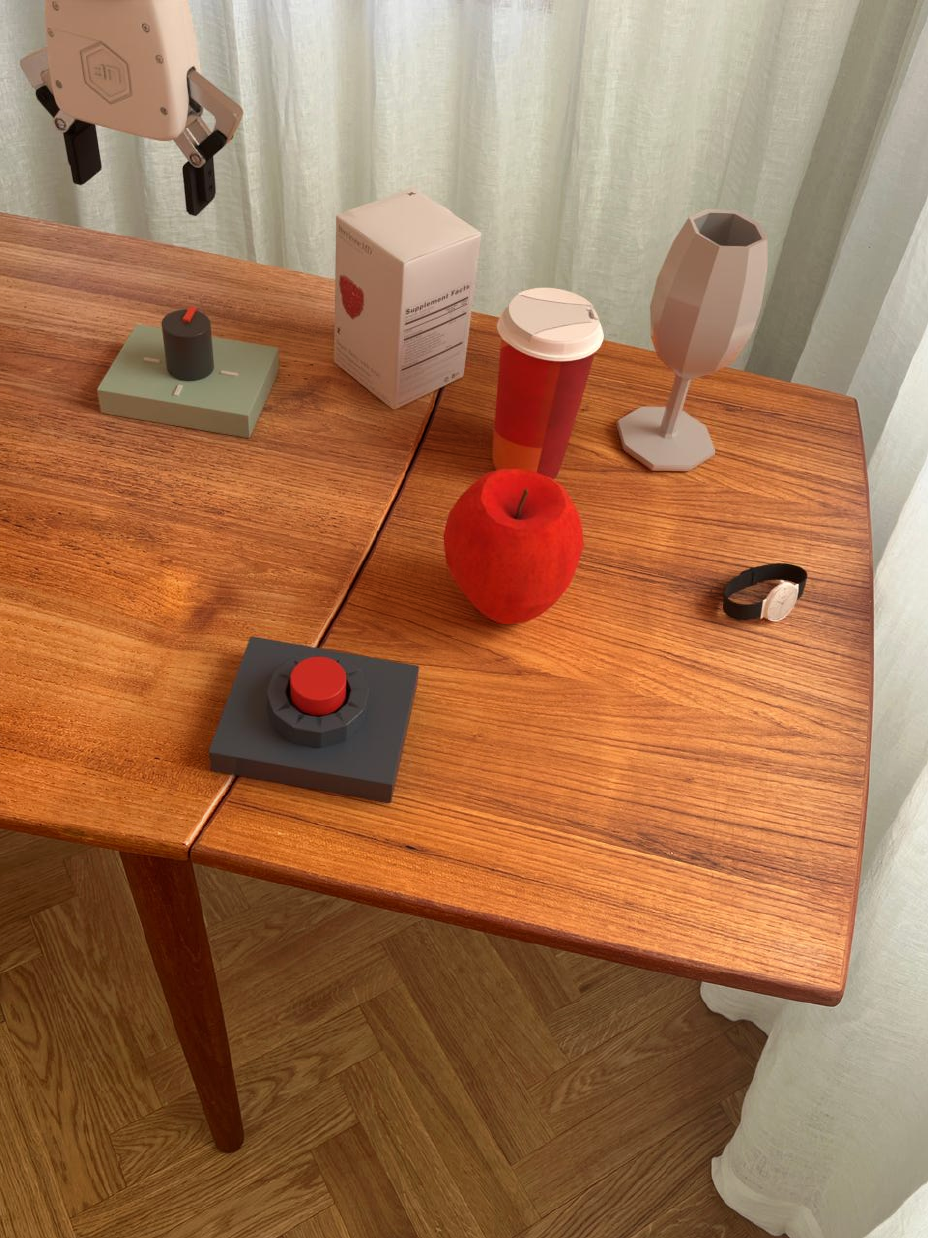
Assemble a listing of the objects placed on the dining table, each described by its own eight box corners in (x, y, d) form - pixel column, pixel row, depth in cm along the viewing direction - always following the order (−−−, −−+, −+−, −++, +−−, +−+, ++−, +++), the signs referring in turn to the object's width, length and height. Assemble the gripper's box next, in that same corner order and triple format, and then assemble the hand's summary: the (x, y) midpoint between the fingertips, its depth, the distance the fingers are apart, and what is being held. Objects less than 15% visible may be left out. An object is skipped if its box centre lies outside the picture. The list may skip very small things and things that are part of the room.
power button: (284, 710, 72) (284, 694, 71) (298, 668, 74) (297, 651, 73) (339, 720, 72) (339, 704, 71) (350, 677, 74) (351, 661, 73)
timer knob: (206, 384, 95) (201, 336, 91) (160, 376, 95) (154, 328, 91) (219, 357, 98) (216, 310, 94) (175, 350, 98) (169, 302, 94)
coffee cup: (561, 430, 100) (592, 282, 88) (583, 493, 94) (619, 344, 83) (469, 433, 98) (489, 283, 87) (486, 497, 93) (510, 346, 82)
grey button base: (210, 771, 73) (206, 735, 70) (251, 655, 79) (249, 618, 76) (391, 803, 72) (394, 769, 69) (417, 684, 79) (421, 648, 76)
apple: (410, 603, 84) (421, 482, 75) (493, 540, 89) (513, 420, 80) (511, 677, 80) (535, 559, 71) (591, 606, 86) (624, 488, 77)
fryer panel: (100, 413, 95) (96, 387, 93) (140, 346, 102) (136, 321, 100) (249, 438, 95) (248, 413, 93) (279, 370, 101) (278, 345, 99)
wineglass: (646, 484, 96) (710, 266, 80) (598, 422, 101) (650, 206, 85) (730, 463, 99) (807, 249, 83) (679, 404, 104) (743, 192, 88)
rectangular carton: (330, 362, 103) (331, 211, 92) (403, 330, 107) (413, 183, 96) (392, 413, 99) (402, 262, 88) (467, 378, 103) (484, 230, 92)
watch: (742, 640, 85) (756, 608, 82) (702, 599, 87) (715, 567, 85) (814, 606, 88) (829, 574, 85) (773, 567, 91) (788, 535, 88)
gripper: (-36, -62, 73) (17, 186, 85) (205, -5, 70) (223, 242, 83) (29, -94, 78) (70, 145, 90) (257, -41, 75) (266, 197, 88)
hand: (143, 192), depth 87 cm, fingers open, 9 cm apart
